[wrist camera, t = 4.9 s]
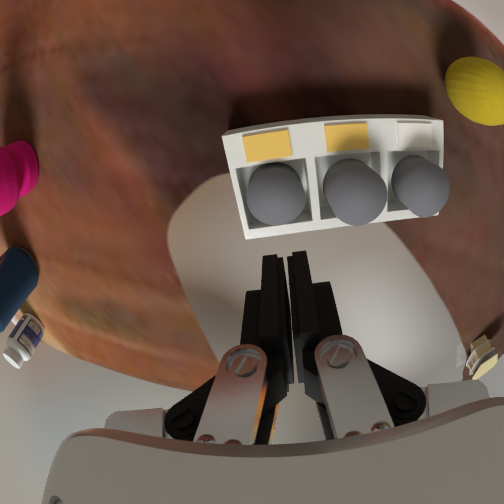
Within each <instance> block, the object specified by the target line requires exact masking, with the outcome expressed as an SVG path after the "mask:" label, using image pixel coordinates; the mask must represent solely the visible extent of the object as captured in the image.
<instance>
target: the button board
mask: <svg viewBox="0 0 504 504" xmlns="http://www.w3.org/2000/svg"><path fill="white" fill-rule="evenodd" d="M222 139H223V144H224V148H225V152H226V157H227V161H228V165H229V170H230V174H231V178H232V183H233V187H234V191H235V196H236V200H237V204H238V209H239V213H240V217H241V222H242V226H243V230H244V235H245V239H253V238H260V237H268V236H275V235H282V234H289V233H297V232H305V231H312V230H320V229H328V228H335V227H343V226H351V225H349V224H346V223H344V222H342V221H341V220H339V219H338V218H337V217H336V215H335V214H334V212H333V210H332V209H331V207H330V205H329V203H328V201H327V199H326V197H325V195H324V192H323V179H324V176H325V174H326V172H327V170H328V169H329V168H330V167H331V166H332V165H333V164H334V163H336V162H337V161H339V160H342V159H347V158H353V159H358V160H360V161H362V162H364V163H365V164H366V165H368V166H369V167H370V168H371V169H373V170H374V171H375V172H376V173H377V174H379V175H380V176H381V177H382V179H383V180H384V182H385V184H386V187H387V194H388V196H387V202H386V205H385V207H384V209H383V211H382V213H381V214H380V215H379V216H378V217H377V218H376V219H374V220H373V221H371V222H369V223H375V222H383V221H392V220H400V219H408V218H417V217H419V216H416V215H415V214H413V213H412V212H411V211H410V210H409V209H408V208H407V207H406V206H405V205H404V204H403V203H402V202H401V201H400V200H399V199H398V198H397V197H396V196H395V194H394V192H393V190H392V186H391V177H392V173H393V170H394V168H395V166H396V165H397V163H398V162H399V161H400V160H401V159H403V158H404V157H406V156H409V155H419V156H421V157H423V158H425V159H427V160H429V161H431V162H432V163H434V164H436V165H438V166H439V167H441V168H442V169H443V120H439V119H436V118H432V117H428V116H424V115H405V114H365V115H342V116H327V117H316V118H306V119H297V120H289V121H281V122H274V123H267V124H261V125H255V126H249V127H244V128H238V129H233V130H228V131H227V132H226V133H225V134H224V135H223V136H222ZM272 162H281V163H285V164H287V165H289V166H290V167H292V168H293V169H294V170H295V171H296V172H297V174H298V175H299V177H300V180H301V183H302V185H303V188H304V191H305V197H306V200H305V205H304V208H303V210H302V212H301V213H300V215H299V216H298V217H297V218H295V219H294V220H293V221H291V222H289V223H286V224H283V225H269V224H265V223H263V222H261V221H259V220H258V219H256V218H255V217H254V216H253V214H252V213H251V212H250V210H249V208H248V205H247V191H248V186H249V181H250V178H251V175H252V174H253V172H254V171H255V170H256V169H257V168H258V167H260V166H261V165H263V164H265V163H272ZM438 214H439V212H438V213H436V214H435V215H438ZM435 215H433V216H435Z"/></svg>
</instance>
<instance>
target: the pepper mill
mask: <svg viewBox="0 0 504 504" xmlns="http://www.w3.org/2000/svg"><path fill="white" fill-rule="evenodd" d="M38 175H39V166H38V160H37V157H36V154H35V152H34V150H33V148H32V147H31V146H30V144H29V143H27V142H25V141H23V140H19V141H16V142H14V143H11V144H9V145H7V146H6V147H5V148H4V147H0V216H2V215H4V214H5V213H7V212H9V211H10V210H11V209H12V208H13V207H14V206H15V204H16V203H17V201H18V198H19V197H22V196H24V195H25V194H27V193H28V192H30V191H31V190H32V189H33V188H34V187H35V186H36V183H37V181H38Z"/></svg>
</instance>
